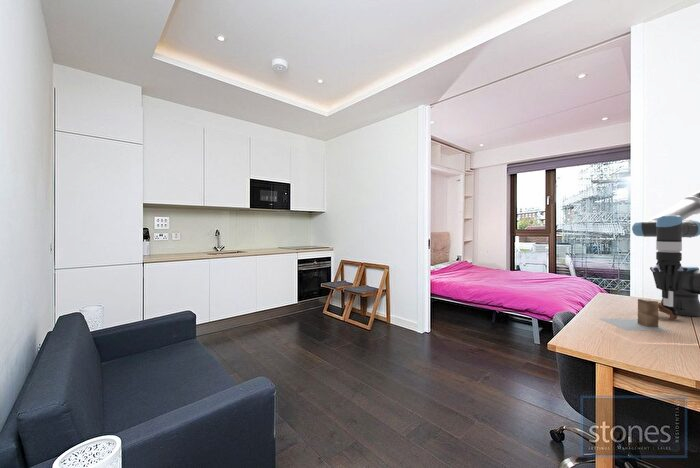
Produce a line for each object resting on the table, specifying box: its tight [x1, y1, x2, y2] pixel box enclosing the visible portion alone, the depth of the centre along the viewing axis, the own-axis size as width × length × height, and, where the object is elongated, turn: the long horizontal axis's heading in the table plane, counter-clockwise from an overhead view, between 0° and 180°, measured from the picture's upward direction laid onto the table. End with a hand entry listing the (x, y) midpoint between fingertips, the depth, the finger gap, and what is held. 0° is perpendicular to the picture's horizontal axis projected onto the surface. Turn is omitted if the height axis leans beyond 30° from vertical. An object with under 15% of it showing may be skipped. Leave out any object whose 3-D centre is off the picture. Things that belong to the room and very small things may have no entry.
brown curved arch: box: [658, 302, 678, 321], centre depth 140 cm, size 12×10×8 cm
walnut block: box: [637, 298, 659, 327], centre depth 129 cm, size 4×4×11 cm
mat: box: [597, 317, 673, 332], centre depth 131 cm, size 18×16×1 cm
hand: (668, 305), depth 128 cm, fingers closed
